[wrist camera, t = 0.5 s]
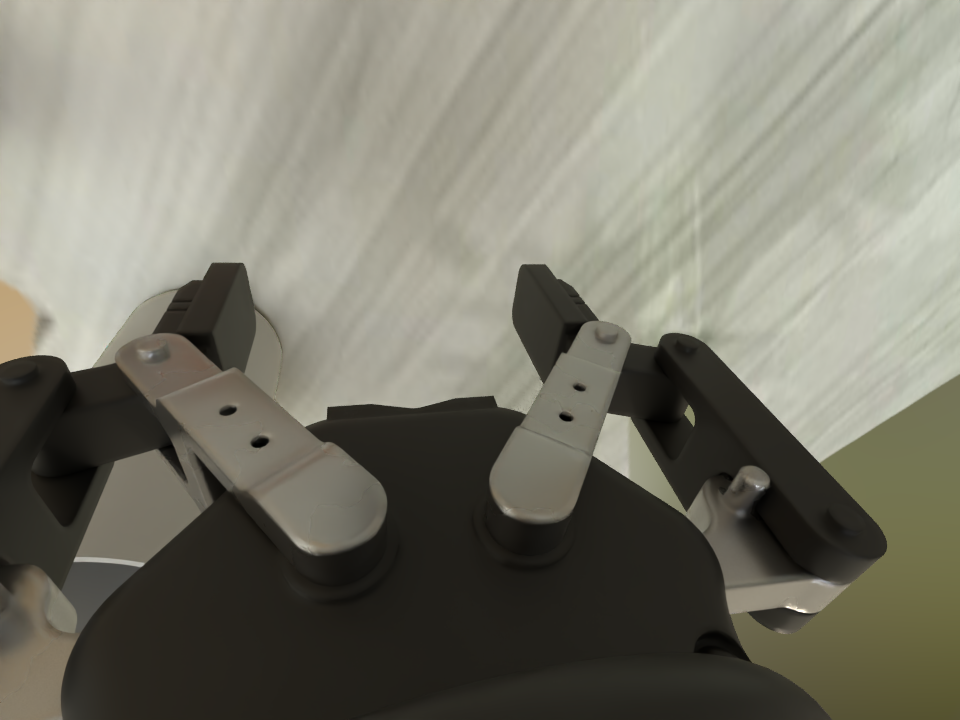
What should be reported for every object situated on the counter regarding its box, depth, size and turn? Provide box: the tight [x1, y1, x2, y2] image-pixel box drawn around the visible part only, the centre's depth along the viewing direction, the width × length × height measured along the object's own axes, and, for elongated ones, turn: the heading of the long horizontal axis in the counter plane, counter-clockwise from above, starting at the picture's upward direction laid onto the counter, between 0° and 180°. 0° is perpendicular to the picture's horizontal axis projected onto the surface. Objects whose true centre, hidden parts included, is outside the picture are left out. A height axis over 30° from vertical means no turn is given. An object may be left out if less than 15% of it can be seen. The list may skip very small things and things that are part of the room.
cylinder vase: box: [61, 290, 282, 633], centre depth 32 cm, size 12×12×25 cm
